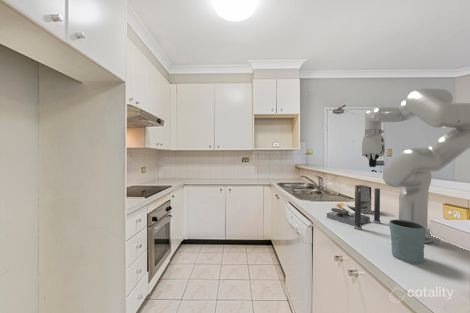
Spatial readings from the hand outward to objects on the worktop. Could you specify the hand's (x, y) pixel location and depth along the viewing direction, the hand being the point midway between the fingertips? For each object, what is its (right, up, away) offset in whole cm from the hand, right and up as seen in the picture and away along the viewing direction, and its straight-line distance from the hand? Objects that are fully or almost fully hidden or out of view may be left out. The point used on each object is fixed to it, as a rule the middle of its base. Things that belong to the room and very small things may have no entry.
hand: (372, 166), depth 116 cm
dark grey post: (-1, -29, -4) cm, 30 cm away
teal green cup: (-15, -30, -41) cm, 53 cm away
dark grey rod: (-15, -29, -13) cm, 36 cm away
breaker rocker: (-13, -24, +2) cm, 27 cm away
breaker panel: (-13, -29, +1) cm, 32 cm away
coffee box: (+5, -29, +17) cm, 34 cm away
